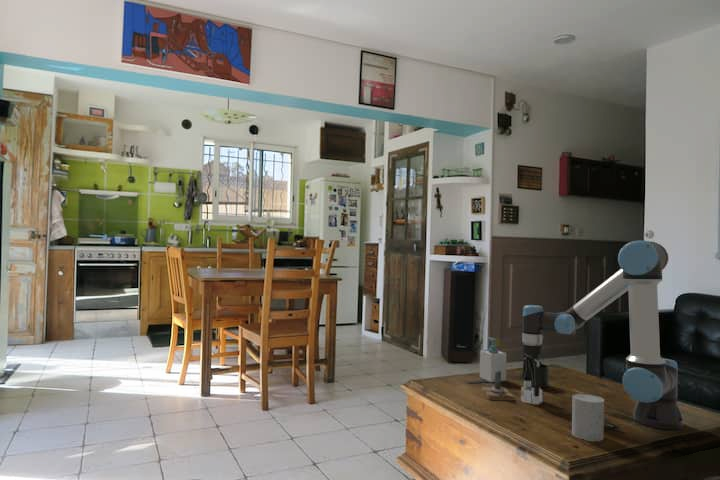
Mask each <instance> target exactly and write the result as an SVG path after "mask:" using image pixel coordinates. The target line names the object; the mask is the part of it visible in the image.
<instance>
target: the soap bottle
mask: <svg viewBox="0 0 720 480" xmlns="http://www.w3.org/2000/svg"><path fill="white" fill-rule="evenodd" d="M486 338H487V339H488V340H489V341H491V345H490V347H489V348H488V349H481V350H480V356H479V359H480V360H479V367H480V368H479V378H481V379H483V380H484V381H487V382H490V383H495V371H501V382H506V381H507V352H504V351H501V350H499V349H498V348H497V345H495V344H496V341H497V340H498V339H497V338H493V337H491V336H490V337H489V336H487V337H486Z"/></svg>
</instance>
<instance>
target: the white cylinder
mask: <svg viewBox="0 0 720 480" xmlns="http://www.w3.org/2000/svg"><path fill="white" fill-rule="evenodd" d="M571 397H572V398H571V399H572V400H571V401H572V405H571V409H572V410H571V411H572V412H571V435H572V436H573V437H574V438H576V439H579V438H580V440H582V439H584V440H583V441H586V442H595V441H597V442H602V441H604V440H605V436H604V435H605V431H604V430H605V401H606V400H605V399H604V398H603V397H601V396H598V395H595V394H592V393H591V394H590V393H580V392H579V393H574V394H572V396H571ZM603 439H604V440H603ZM601 440H602V441H601Z"/></svg>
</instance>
